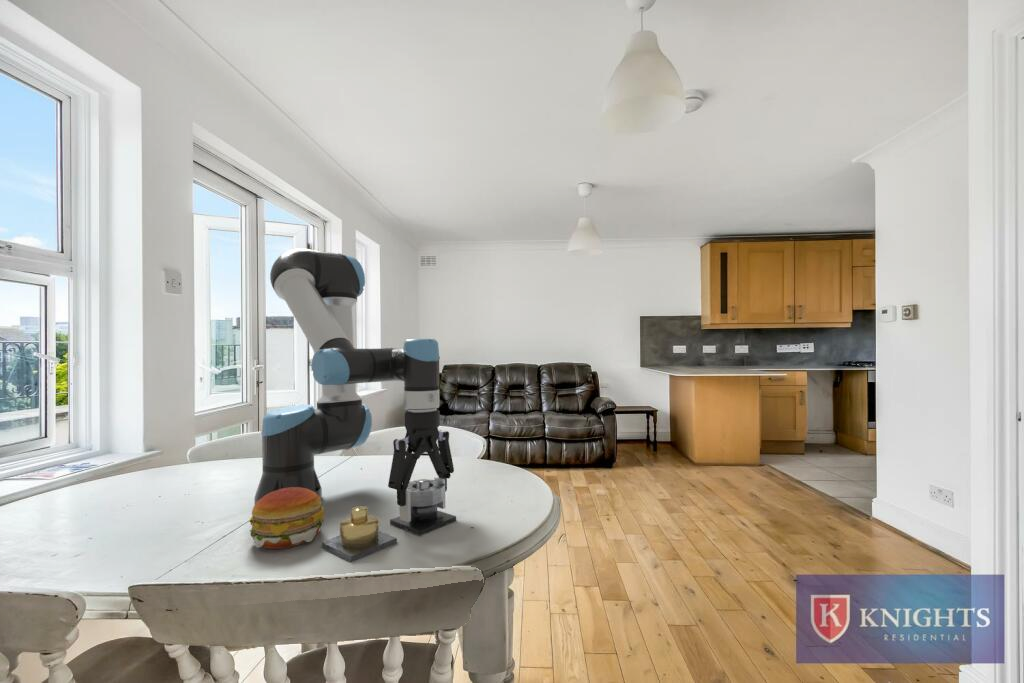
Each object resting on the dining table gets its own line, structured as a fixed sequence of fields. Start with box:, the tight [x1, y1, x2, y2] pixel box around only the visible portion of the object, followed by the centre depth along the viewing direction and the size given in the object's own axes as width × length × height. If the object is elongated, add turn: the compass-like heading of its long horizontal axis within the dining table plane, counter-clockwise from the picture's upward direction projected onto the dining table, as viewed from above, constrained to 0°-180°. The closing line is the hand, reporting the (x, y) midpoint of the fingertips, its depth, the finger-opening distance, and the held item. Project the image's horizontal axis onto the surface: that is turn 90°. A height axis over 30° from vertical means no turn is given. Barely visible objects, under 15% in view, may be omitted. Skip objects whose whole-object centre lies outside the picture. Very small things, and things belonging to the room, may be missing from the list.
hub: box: [321, 505, 398, 563], centre depth 88 cm, size 10×10×7 cm
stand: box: [389, 478, 457, 537], centre depth 100 cm, size 10×10×9 cm
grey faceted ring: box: [407, 479, 446, 507], centre depth 100 cm, size 9×9×3 cm
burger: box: [249, 487, 325, 549], centre depth 92 cm, size 13×14×10 cm
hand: (423, 513), depth 100 cm, fingers closed on grey faceted ring, 9 cm apart
